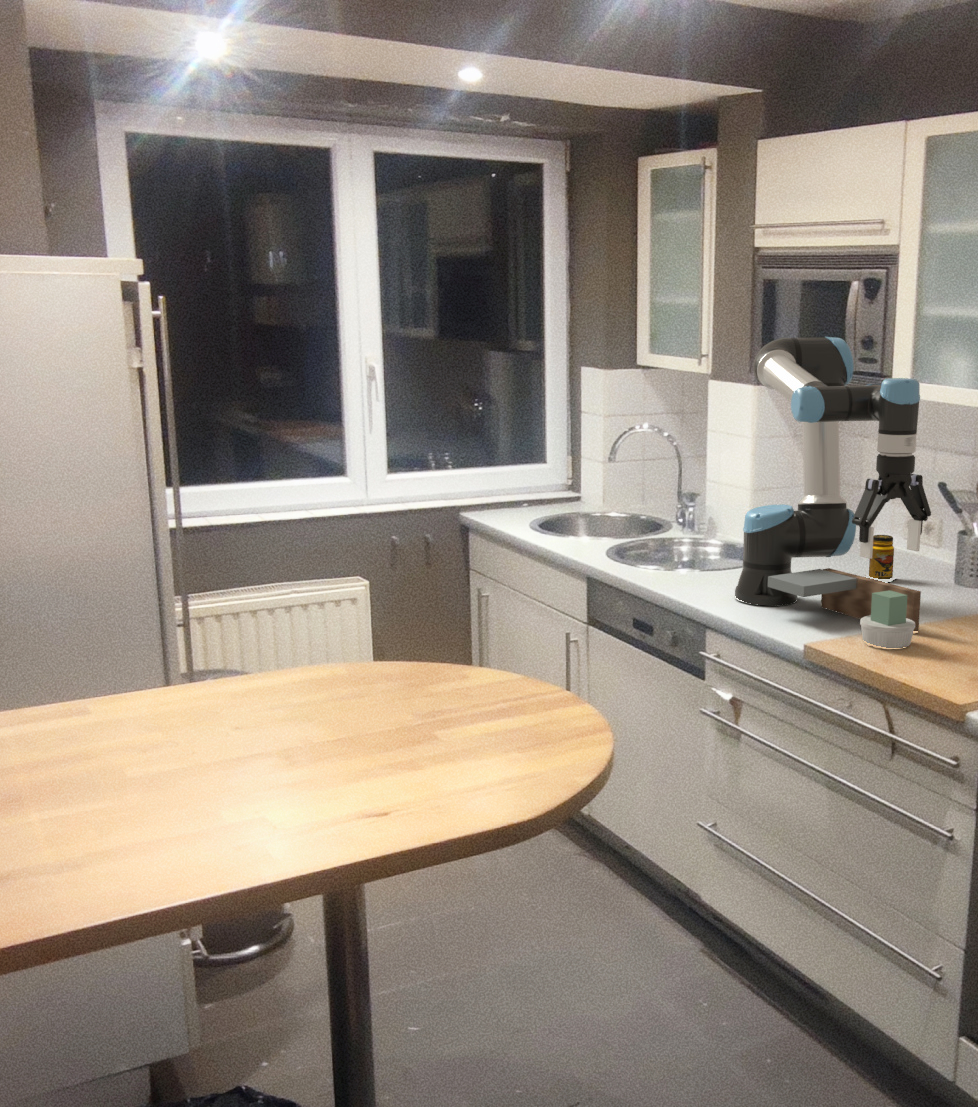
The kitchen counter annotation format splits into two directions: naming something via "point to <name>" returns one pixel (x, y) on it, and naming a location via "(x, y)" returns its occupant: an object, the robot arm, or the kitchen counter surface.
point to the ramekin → (887, 633)
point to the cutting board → (868, 598)
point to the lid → (812, 582)
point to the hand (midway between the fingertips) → (889, 553)
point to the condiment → (882, 557)
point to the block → (889, 607)
